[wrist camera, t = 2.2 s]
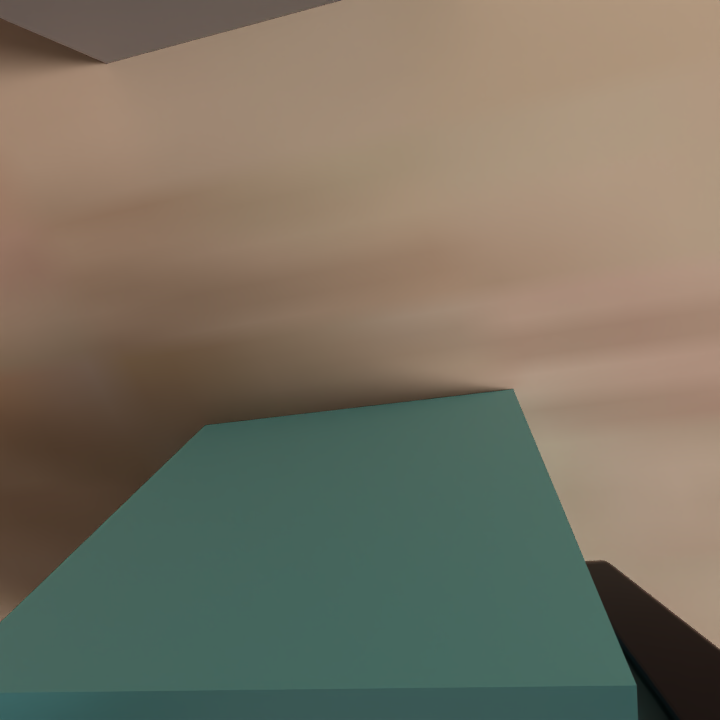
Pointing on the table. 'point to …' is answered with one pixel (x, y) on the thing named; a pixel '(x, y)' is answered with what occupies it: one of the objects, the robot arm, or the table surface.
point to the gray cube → (140, 21)
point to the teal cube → (328, 582)
